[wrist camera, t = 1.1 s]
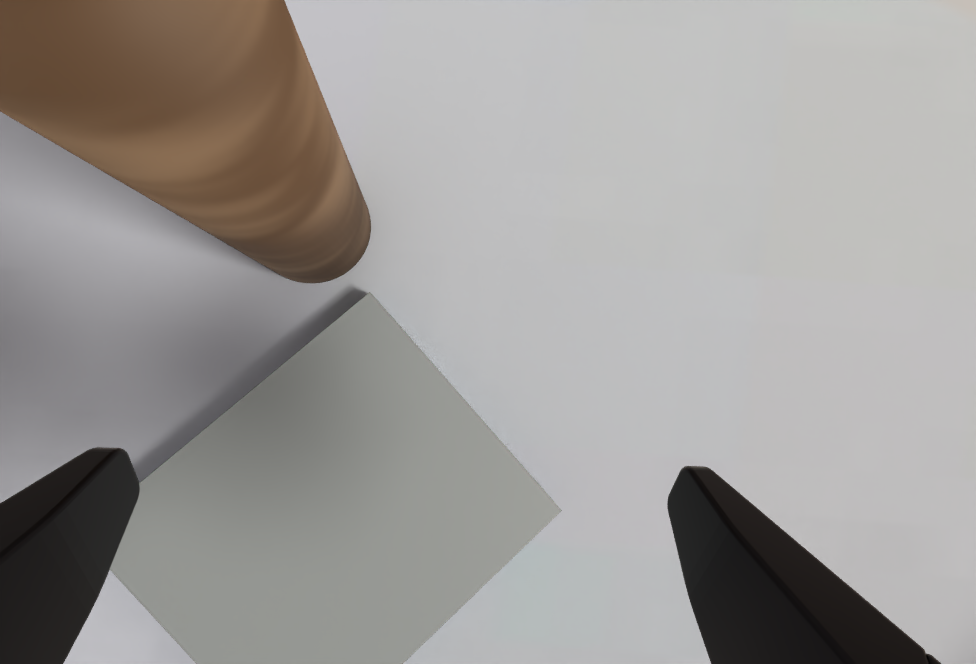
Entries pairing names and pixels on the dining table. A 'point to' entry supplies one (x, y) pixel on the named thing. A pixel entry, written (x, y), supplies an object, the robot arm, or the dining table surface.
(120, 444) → the dining table surface
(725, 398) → the dining table surface
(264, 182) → the pepper mill
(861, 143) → the dining table surface
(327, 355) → the slate board
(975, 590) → the dining table surface
